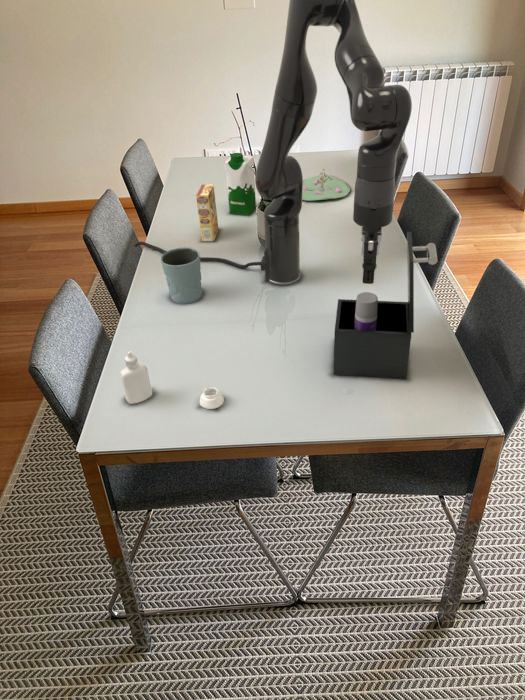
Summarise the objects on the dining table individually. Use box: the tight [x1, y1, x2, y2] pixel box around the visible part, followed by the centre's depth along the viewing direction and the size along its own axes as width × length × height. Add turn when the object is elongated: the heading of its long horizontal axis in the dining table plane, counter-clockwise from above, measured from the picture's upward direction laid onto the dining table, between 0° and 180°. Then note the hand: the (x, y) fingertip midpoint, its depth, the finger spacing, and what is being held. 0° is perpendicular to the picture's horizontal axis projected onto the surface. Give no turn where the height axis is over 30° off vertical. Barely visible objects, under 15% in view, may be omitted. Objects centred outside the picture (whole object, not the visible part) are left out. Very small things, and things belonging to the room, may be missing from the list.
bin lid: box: [406, 231, 438, 334], centre depth 122 cm, size 16×13×5 cm
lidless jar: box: [199, 386, 225, 410], centre depth 125 cm, size 5×3×5 cm
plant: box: [302, 168, 351, 202], centre depth 216 cm, size 25×21×9 cm
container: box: [354, 291, 379, 331], centre depth 131 cm, size 5×5×15 cm
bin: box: [332, 298, 412, 380], centre depth 132 cm, size 16×13×12 cm
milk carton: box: [224, 152, 257, 217], centre depth 201 cm, size 9×9×20 cm
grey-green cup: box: [160, 246, 203, 305], centre depth 159 cm, size 10×10×12 cm
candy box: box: [195, 184, 220, 242], centre depth 187 cm, size 9×4×15 cm, turn 174°
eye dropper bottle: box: [119, 351, 153, 405], centre depth 125 cm, size 4×6×12 cm
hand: (368, 272), depth 124 cm, fingers open, 8 cm apart
